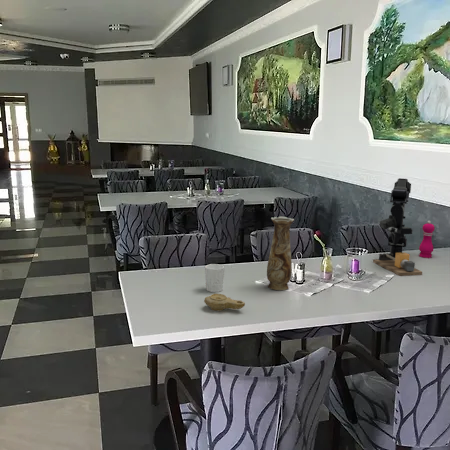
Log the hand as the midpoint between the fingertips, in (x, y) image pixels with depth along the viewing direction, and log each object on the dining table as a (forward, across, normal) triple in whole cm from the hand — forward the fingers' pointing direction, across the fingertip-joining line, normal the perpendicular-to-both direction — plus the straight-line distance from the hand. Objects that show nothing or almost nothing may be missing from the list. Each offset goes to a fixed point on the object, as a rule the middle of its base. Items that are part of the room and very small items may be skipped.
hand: (394, 244), depth 241 cm
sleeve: (+9, +7, 0) cm, 12 cm away
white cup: (+12, +20, -96) cm, 99 cm away
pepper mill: (+11, -15, +29) cm, 35 cm away
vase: (+12, +21, -68) cm, 72 cm away
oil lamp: (+12, +42, -97) cm, 106 cm away
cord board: (+11, +3, 0) cm, 12 cm away
